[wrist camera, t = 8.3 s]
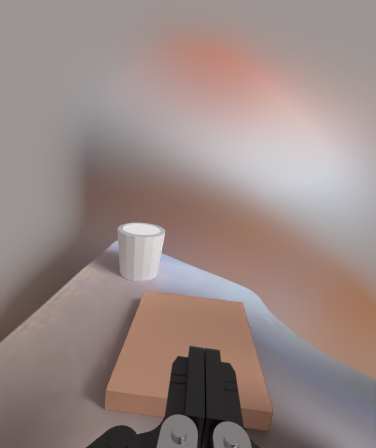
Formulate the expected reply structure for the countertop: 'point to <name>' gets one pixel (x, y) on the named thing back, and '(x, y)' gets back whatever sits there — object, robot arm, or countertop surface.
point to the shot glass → (140, 250)
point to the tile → (185, 354)
